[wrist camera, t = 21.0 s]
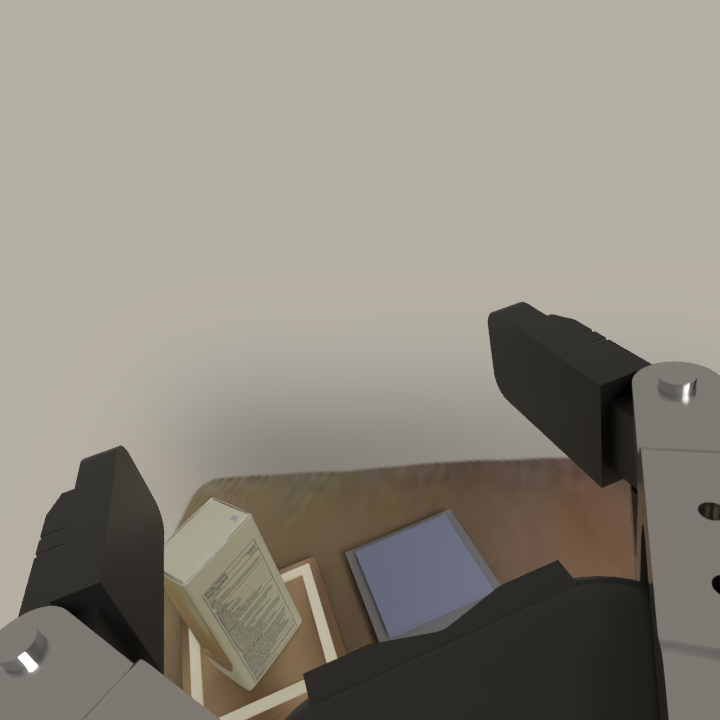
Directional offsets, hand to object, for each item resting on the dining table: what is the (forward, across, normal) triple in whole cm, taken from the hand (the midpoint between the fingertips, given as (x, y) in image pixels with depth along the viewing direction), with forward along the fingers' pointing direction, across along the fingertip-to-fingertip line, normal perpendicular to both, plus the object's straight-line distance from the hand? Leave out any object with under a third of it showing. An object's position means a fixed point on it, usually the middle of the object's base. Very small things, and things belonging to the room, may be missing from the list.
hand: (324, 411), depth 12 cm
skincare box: (+20, +9, +31) cm, 38 cm away
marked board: (+20, +8, +32) cm, 39 cm away
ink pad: (+20, -5, +32) cm, 38 cm away
